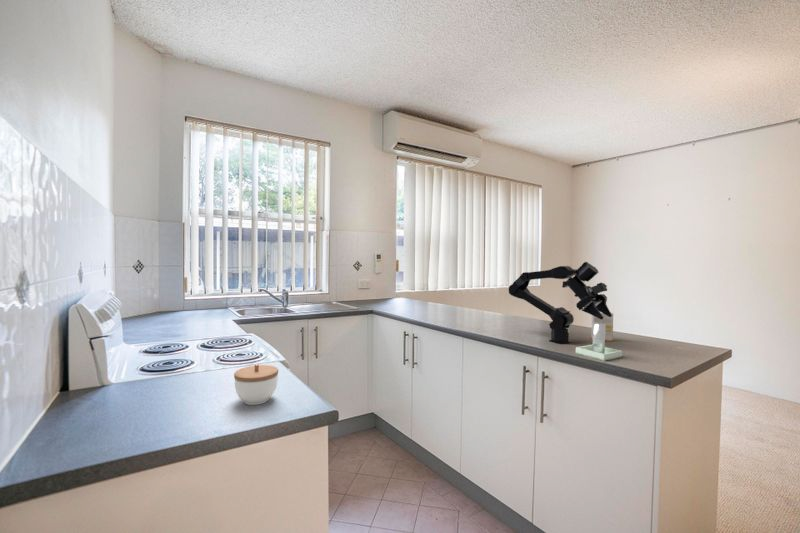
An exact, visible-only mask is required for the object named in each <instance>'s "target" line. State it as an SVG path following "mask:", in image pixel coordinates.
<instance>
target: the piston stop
mask: <svg viewBox="0 0 800 533" xmlns="http://www.w3.org/2000/svg"><path fill="white" fill-rule="evenodd" d="M605 331H606V324H605V323H598V322H594V323H593V337H592V336H591V339H592V340H591V341H592V343H591V345H592V351H594V352H598V353H602V354H605V347H606V341H605Z"/></svg>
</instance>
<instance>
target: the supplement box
mask: <svg viewBox="0 0 800 533" xmlns="http://www.w3.org/2000/svg"><path fill="white" fill-rule="evenodd" d="M599 312H600V311H599ZM600 313H601V314H602V316H603V319H599V318H597V317H595V316H593V315H591V338H592V337H593V323H594V322H598V323H605V324H606V331H605V342H613V341H614V340H613V339H614V313H613V312H612V311H610V313H611V315H612V316H611V317H609V316H607V315H605V314H603V313H602V312H600Z"/></svg>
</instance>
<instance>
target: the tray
mask: <svg viewBox="0 0 800 533" xmlns="http://www.w3.org/2000/svg"><path fill="white" fill-rule="evenodd" d="M575 354H576V355H579V356H583V357H587V358H590V359H594V360H598V361H601V362H607V360H608V361H612V360H616V359H621V358H623V350H620V349H615V348H611V347H607V346H605V354H602V353H598V352H594V351H592V344H587V345H583V346H581V345H580V346H576V347H575Z"/></svg>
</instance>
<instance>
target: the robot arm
mask: <svg viewBox="0 0 800 533" xmlns="http://www.w3.org/2000/svg"><path fill="white" fill-rule="evenodd" d="M599 273H600V272H599V270H598V269H597V267H596V266H593V265H592V264H591V263H589V262H587V261H584V262H583V263H582V264H581V266H579V267H578V268H577V269H574V268H572V267H571V266H569V265H560V266H557V267H553V268H551V269H546V270H540V271H529V272H528V271H527V272H526V271H525V272H521V274H520V276H519V277H517V279H515V280H514V282H512V284H510V285H509V287H508V293H509V296H510V295H511V296H512V297H514V298H517V299H520V300H523V301H525V302H527V303H528V304H530V305H532V306H533V307H535V308H537V309H538V310H540V311H541V312H542V313H544V314H546V315H547V316H548V317H549V318H550V319H551V322H550V323H549V324H548V326H549V328H550V331H551V334H550V335H551V336H550V337H551V338H550V339H548V342H552V343H556V344H559V345H562V344H568V343H571V341H570V340H569V337H570V336H569V334H570V333H569V328H570V326H571V325H572V324H573V323H574V319H575V318H574V315H573V314H572V313H571V311H570V310H567V309H566V308H565V307H563V306H561V307H555V306H553V305H551V304H550V303H548V302H547V301H544V300H543V299H541V298H539V296H537V295H535V294H533V293H531V291H530V290H529V289H528V287H529V285H530V283H531V282H530V281H533V280H541V279H556V280H558V279H559V280H564V281H562V288H569V289H570V291H572V292H573V293H574V297H575V298H578V299H579V301H578V302H577V303H576V304H575V306H576V308H577V309H578V310H579V311H581V312H585V313H587V314H589V315H591V316H592V315H593V316H595V317H597V318H599V319H603V316H602V314H601V313H600V312H602V313H603V314H605V315H607V316H609V317H611V316H612V315H611V313H610V312H611V311H610V309H609V307H608V305H607V301H608V297H607V296H606V294H605V293H603V292H607V291H608V285H607V284H606V283H603V282H599V283H596V285H594V286H590V285H586V283H584V282H589V281H591V280H592V279H594V277H595V276H596V275H598V274H599ZM565 279H567V280H566V281H565ZM599 311H600V312H599Z"/></svg>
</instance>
